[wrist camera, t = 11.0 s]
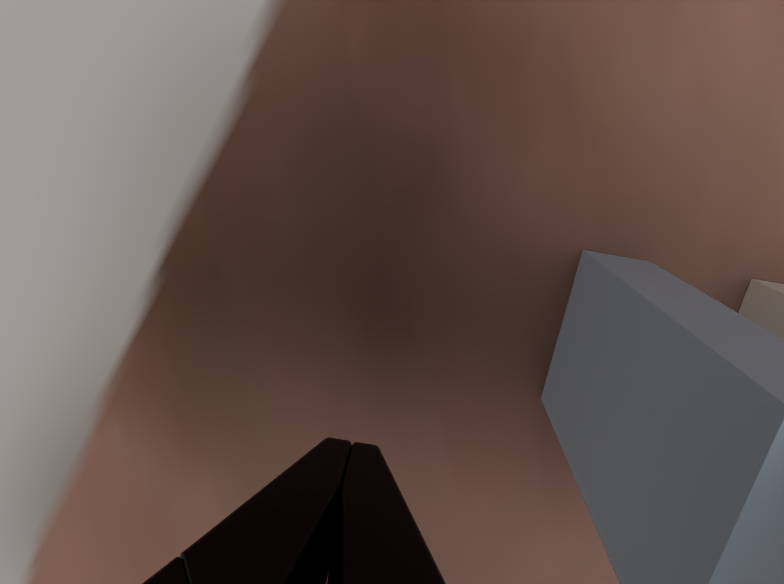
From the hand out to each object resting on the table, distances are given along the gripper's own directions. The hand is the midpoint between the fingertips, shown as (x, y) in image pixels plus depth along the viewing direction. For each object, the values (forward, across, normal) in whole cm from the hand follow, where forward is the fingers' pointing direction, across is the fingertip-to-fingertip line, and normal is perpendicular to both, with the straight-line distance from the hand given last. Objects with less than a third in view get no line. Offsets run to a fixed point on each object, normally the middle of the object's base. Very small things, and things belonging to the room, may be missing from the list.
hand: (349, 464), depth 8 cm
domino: (+8, -6, 0) cm, 10 cm away
